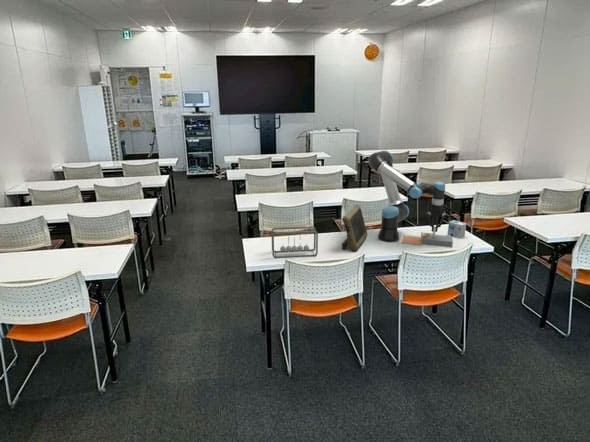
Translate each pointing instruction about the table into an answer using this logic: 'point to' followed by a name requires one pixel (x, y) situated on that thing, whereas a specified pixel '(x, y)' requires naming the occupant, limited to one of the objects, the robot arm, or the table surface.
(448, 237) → the deck
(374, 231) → the table surface
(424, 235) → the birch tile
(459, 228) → the light bulb box
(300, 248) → the newton's cradle
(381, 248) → the table surface
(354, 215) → the tablet
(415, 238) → the mat
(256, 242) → the table surface
